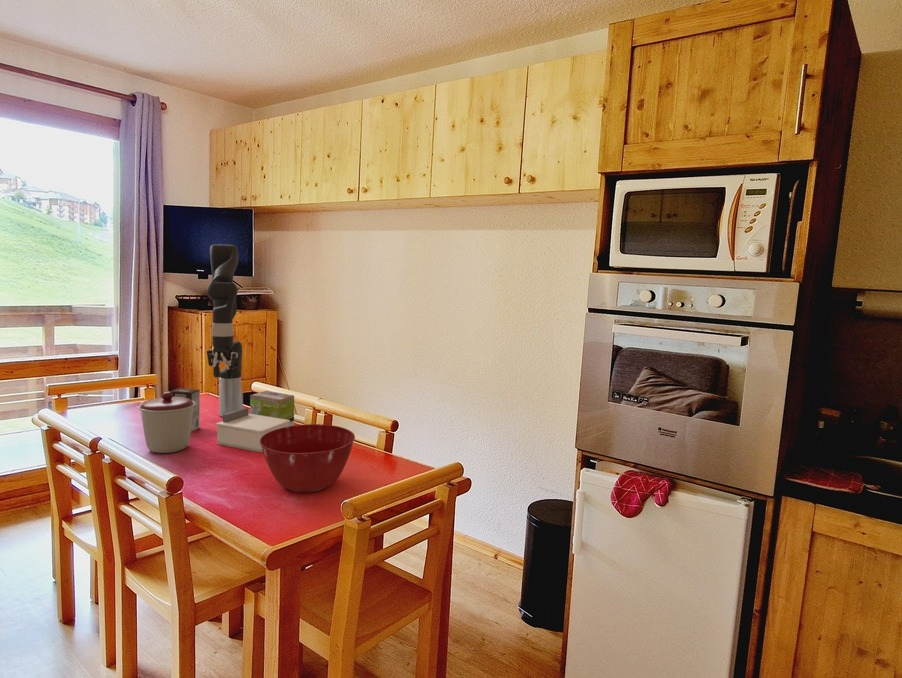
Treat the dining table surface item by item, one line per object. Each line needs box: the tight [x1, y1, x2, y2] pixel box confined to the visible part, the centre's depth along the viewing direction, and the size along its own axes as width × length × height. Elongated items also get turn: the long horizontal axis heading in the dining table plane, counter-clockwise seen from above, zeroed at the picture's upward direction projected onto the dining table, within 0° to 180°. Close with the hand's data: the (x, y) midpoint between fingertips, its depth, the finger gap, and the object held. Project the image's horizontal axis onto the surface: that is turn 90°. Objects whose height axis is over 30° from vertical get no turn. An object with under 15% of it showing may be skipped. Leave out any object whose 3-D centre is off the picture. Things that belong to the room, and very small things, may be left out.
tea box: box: [249, 390, 295, 426], centre depth 225 cm, size 15×10×15 cm
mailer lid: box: [215, 407, 290, 433], centre depth 207 cm, size 21×17×4 cm
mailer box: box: [216, 423, 289, 453], centre depth 208 cm, size 20×16×7 cm
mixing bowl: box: [260, 423, 356, 494], centre depth 169 cm, size 28×28×16 cm
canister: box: [137, 391, 195, 454], centre depth 195 cm, size 18×18×21 cm
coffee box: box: [170, 387, 201, 432], centre depth 220 cm, size 9×6×16 cm
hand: (223, 377), depth 210 cm, fingers open, 5 cm apart
